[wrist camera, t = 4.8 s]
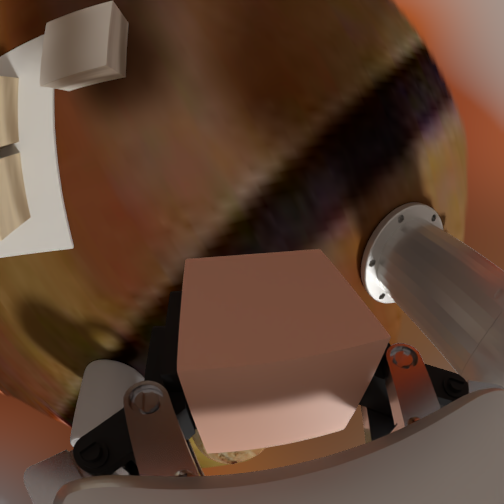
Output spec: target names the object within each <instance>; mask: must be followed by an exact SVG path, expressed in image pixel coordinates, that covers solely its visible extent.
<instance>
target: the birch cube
mask: <svg viewBox="0 0 504 504" xmlns="http://www.w3.org/2000/svg"><path fill="white" fill-rule="evenodd" d="M128 27H129V23H128V21H127V20H126V18H125V17H124V16H123V14H122V13H121V11H120V10H119V8H118V7H117V6H116V4H115V3H114V1H109V2H105V3H101V4H98V5H94V6H91V7H88V8H85V9H82V10H79V11H76V12H73V13H70V14H68V15H65V16H62V17H60V18H57V19H55V20H52V21H50V22H48V23H46V28H45V34H44V41H43V48H42V57H41V68H40V86H42V87H49V88H55V89H61V90H66V91H71V90H74V89H78V88H81V87H85V86H89V85H93V84H97V83H101V82H105V81H110V80H114V79H119V78H124V77H126V55H127V39H128Z"/></svg>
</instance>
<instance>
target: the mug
mask: <svg viewBox="0 0 504 504" xmlns="http://www.w3.org/2000/svg"><path fill="white" fill-rule="evenodd" d="M141 381H144V378H143V376H142V375H141V374H140V373H139V372H138V371H137V370H135V369H134V368H132V367H130V366H128V365H126V364H124V363H121V362H118V361H114V360H105V359H103V360H96V361H93V362H91V363H90V364H88V366H87V367H86V369H85V372H84V375H83V380H82V384H81V389H80V393H79V397H78V401H77V406H76V410H75V415H74V420H73V425H72V431H71V437H70V442H71V445H72V446H73V447H74V445H75V444H76V442H77V440H79V439H80V438H81V437H82V436H83V435H85V434H86V433H88V432H89V431H91V430H92V429H94V428H95V427H97V426H98V425H100V424H101V423H102V422H104V421H105V420H107V419H108V418H110V417H111V416H112V415H114V414H115V413H117V412H118V411H119V410H121V409H122V408H124V404H123V397H124V395H125V392H126V391H127V390H128V389H129V387H131V386H132V385H134V384H135V383H138V382H141Z"/></svg>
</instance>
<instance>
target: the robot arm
mask: <svg viewBox="0 0 504 504" xmlns="http://www.w3.org/2000/svg"><path fill="white" fill-rule="evenodd" d="M361 279H362V283H363V286H364V288H365V289H366V291H367V292H368V294H369V295H370V296H371V297H372V298H373V299H375V300H376V301H378V302H382V303H394V302H396V303H397V305H398V306H399V307H400V308H401V309H402V310H403V311H404V312H405V313H406V314H407V315H408V316H409V317H410V318H411V320H412V321H413V322H414V323H415V324H416V325H417V326H418V327H419V328H420V330H421V331H422V332H423V333H424V334H425V335H426V336H427V337H428V339H429V340H430V341H431V342H432V343H433V344H434V345H435V347H436V348H437V349H438V350H439V351H440V352H441V354H442V355H443V356H444V357H445V358H446V360H447V361H448V362H449V363H450V364H451V366H452V367H453V368H454V369H455V371H456V372H457V373H458V374H456V373H453V372H450V371H447V370H443V369H440V368H437V367H433V366H430V365H427V364H424V362H423V359H422V357H421V355H420V353H419V352H418V350H416V349H415V348H414V347H412V346H411V345H408V344H404V343H397V344H393V345H390V344H389V343H388V345H387V347H386V349H385V352H384V354H383V356H382V358H381V361H380V363H379V365H378V367H377V369H376V371H375V373H374V375H373V378H372V380H371V382H370V384H369V386H368V387H367V389H366V391H365V393H364V395H363V397H362V399H361V401H360V403H359V405H361V411H362V417H363V425H364V432H365V440H366V443H365V444H363V445H360V446H357V447H354V448H351V449H348V450H346V451H342V452H339V453H336V454H333V455H330V456H326V457H323V458H319V459H315V460H311V461H307V462H303V463H298V464H294V465H289V466H285V467H279V468H274V469H268V470H263V471H256V472H248V473H239V474H230V475H218V476H217V475H216V476H204V474H203V471H202V469H201V467H200V465H199V462H198V460H197V458H196V455H195V453H194V451H193V448H192V446H191V443H190V441H189V439H190V438H191V437H192V436H193V435H194V434H195V429H197V427H196V425H195V422H194V419H193V417H192V414H191V411H190V409H189V406H188V403H187V400H186V397H185V394H184V391H183V388H182V385H181V382H180V379H179V376H178V373H177V355H178V338H179V323H180V311H181V299H182V291H173V292H170V298H169V304H168V311H167V318H166V326H154V327H153V329H152V334H151V339H150V345H149V352H148V358H147V365H146V372H145V379H144V381H141V382H138V383H135V384H134V385H132V386H131V387H129V389H128V390H127V391H126V392H125V395H124V397H123V404H124V408H122V409H121V410H119V411H118V412H117V413H115V414H114V415H112V416H111V417H110V418H108V419H107V420H105V421H104V422H102V423H101V424H100V425H98V426H97V427H95V428H94V429H92V430H91V431H89V432H88V433H86V434H85V435H83V436H82V437H81V438H80V439H79V440H77V442H76V444H75V445H74V449H73V450H72V451H70V452H69V451H67V450H65V451H63V452H61V453H59V454H56V455H54V456H52V457H50V458H48V459H46V460H44V461H42V462H39V463H37V464H35V465H32V466H30V467H29V468H27V469H26V471H25V473H24V483H25V486H26V489H27V491H28V493H29V495H30V498H31V500H32V502H33V504H504V271H503V270H501V269H500V268H499V267H497V266H496V265H495V264H493V263H492V262H490V261H489V260H488V259H486V258H485V257H483V256H482V255H481V254H479V253H478V252H476V251H475V250H473V249H472V248H470V247H469V246H467V245H466V244H464V243H463V242H461V241H459V240H458V239H456V238H455V237H453V236H452V235H450V234H448V233H447V232H445V231H443V225H442V222H441V219H440V217H439V215H438V213H437V212H436V211H435V210H434V209H433V208H431V207H429V206H427V205H425V204H422V203H419V202H411V203H407V204H404V205H402V206H400V207H398V208H396V209H395V210H393V211H392V212H391V213H389V214H388V215H387V216H386V217H385V218H384V219H383V220H382V221H381V222H380V224H379V225H378V226H377V228H376V229H375V230H374V232H373V234H372V235H371V237H370V239H369V241H368V243H367V246H366V248H365V251H364V254H363V258H362V262H361Z"/></svg>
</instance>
